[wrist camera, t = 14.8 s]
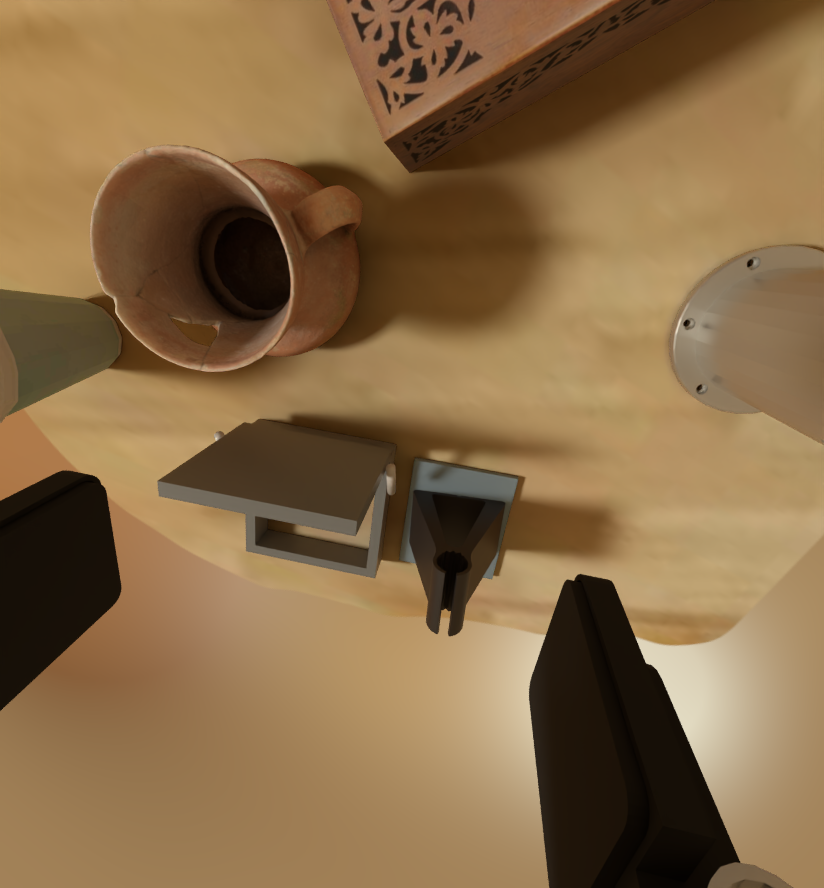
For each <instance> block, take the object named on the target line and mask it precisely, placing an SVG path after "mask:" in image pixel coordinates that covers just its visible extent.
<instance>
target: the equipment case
mask: <svg viewBox="0 0 824 888" xmlns="http://www.w3.org/2000/svg"><path fill="white" fill-rule="evenodd" d="M214 438H215V439H216V442H214V443H213V444H211V445H210V446H208V447H207V448H205V449H204V450H203V451H201V452H200V453H198V454H197V455H195V456H194V457H192V458H191V459H189V460H188V461H186V462H185V463H183V464H182V465H180V466H179V467H177V468H176V469H174V470H173V471H172V472H170V473H169V474H167V475H166V476H164V477H163V478H161V479H160V480H158V481H157V482H158V491H159V496H160V497H165V498H170V499H175V500H180V501H185V502H190V503H195V504H199V505H204V506H209V507H214V508H219V509H224V510H229V511H234V512H239V513H244V514H246V551H248V552H253V553H257V554H262V555H267V556H271V557H276V558H281V559H286V560H290V561H295V562H300V563H305V564H309V565H314V566H319V567H324V568H328V569H333V570H338V571H343V572H347V573H352V574H357V575H362V576H366V577H371V578H375V577H376V574H377V571H378V568H379V565H380V562H381V557H382V549H383V542H384V534H385V527H386V519H387V512H388V504H389V497H390V495H394V494H395V493H396V467H395V465H394V459H395V451H396V444H392V443H387V442H381V441H376V440H371V439H365V438H360V437H354V436H349V435H344V434H338V433H333V432H327V431H322V430H317V429H311V428H306V427H300V426H295V425H290V424H284V423H279V422H273V421H268V420H263V419H258V420H257V421H255V422H254V423H252V424H250V423H245V422H244V423H242V424H241V425H239V426H238V427H236V428H235V429H234V430H232V431H231V432H229V433H228V434H226V435H224V433H223V432H221V431H219V432H216V433H215V435H214ZM374 495H375V500H374V509H373V517H372V526H371V534H370V543H369V550H365V549H360V548H355V547H350V546H346V545H341V544H336V543H331V542H326V541H321V540H316V539H312V538H307V537H302V536H297V535H292V534H287V533H282V532H278V531H273V530H268V519H273V520H278V521H283V522H288V523H293V524H298V525H302V526H307V527H312V528H317V529H322V530H327V531H332V532H337V533H342V534H347V535H352V536H356V534H357V532H358V530H359V528H360V526H361V523H362V521H363V519H364V517H365V515H366V513H367V510H368V508H369V506H370V504H371V502H372V500H373V497H374Z"/></svg>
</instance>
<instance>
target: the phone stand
mask: <svg viewBox="0 0 824 888" xmlns="http://www.w3.org/2000/svg"><path fill="white" fill-rule="evenodd" d="M504 509H505V502H503V501H496V500H489V499H481V498H474V497H467V496H457V495H452V494H445V493H438V492H430V491H423V490H414V491H413V502H412V514H411V525H410V537H409V543H410V546H411V549H412V552H413V556H414V559H415V562H416V565H417V568H418V571H419V574H420V577H421V580H422V584H423V587H424V590H425V593H426V596H427V599H428V608H427V617H426V623H427V626H428V627H429V629H430V630H431V631H432V632H434V633H436V634H438V632H439V625H440V617H441V610H444V609H447V610H448V611H451V616H450V623H449V630H448V635H449V636H453V635H456V634H457V633H459V632H460V631H461V629H462V626H463V620H464V614H465V607H466V604H467V602H468V601H469V599H470V597H471V596H472V594H473V592H474V591H475V589H476V587H477V586H478V584H479V583H480V581H481V579H482V578H483V576H484V574H485V573H486V571H487V569H488V568H489V566H490V564H491V563H492V561H493V559H494V558H495V556H496V554H497V548H498V542H499V537H500V531H501V526H502V520H503V515H504Z"/></svg>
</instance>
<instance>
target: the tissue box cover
mask: <svg viewBox="0 0 824 888" xmlns="http://www.w3.org/2000/svg"><path fill="white" fill-rule="evenodd" d="M326 1H327V3H328V6H329V8H330V11H331V13H332V15H333V18H334V20H335V23H336V25H337V28H338V30H339V33H340V35H341V38H342V40H343V43H344V45H345V47H346V50H347V52H348V55H349V57H350V60H351V62H352V65H353V67H354V70H355V72H356V74H357V77H358V79H359V82H360V84H361V87H362V89H363V92H364V94H365V97H366V99H367V101H368V104H369V106H370V109H371V111H372V114H373V116H374V119H375V121H376V124H377V126H378V128H379V131H380V133H381V136H382V138H383V141H384V143H385V144H386V145H387V146H388V147H389V149H390V150H391V151H392V152H393V153H394V155H395V156H396V157H397V158H398V159H399V161H400V162H401V163H402V164H403V165H404V167H405V168H406V169H407V170H408V171H409V173H410V172H412V171H414V170H416V169H417V168H419V167H421V166H423V165H424V164H426V163H428V162H430V161H431V160H433V159H435V158H437V157H439V156H440V155H442V154H444V153H446V152H447V151H449V150H451V149H453V148H454V147H456V146H458V145H460V144H462V143H463V142H465V141H467V140H469V139H470V138H472V137H474V136H476V135H477V134H479V133H481V132H483V131H484V130H486V129H488V128H490V127H492V126H493V125H495V124H497V123H499V122H500V121H502V120H504V119H506V118H507V117H509V116H511V115H513V114H515V113H516V112H518V111H520V110H522V109H523V108H525V107H527V106H529V105H530V104H532V103H534V102H536V101H538V100H539V99H541V98H543V97H545V96H546V95H548V94H550V93H552V92H553V91H555V90H557V89H559V88H560V87H562V86H564V85H566V84H568V83H569V82H571V81H573V80H575V79H576V78H578V77H580V76H582V75H583V74H585V73H587V72H589V71H591V70H592V69H594V68H596V67H598V66H599V65H601V64H603V63H605V62H606V61H608V60H610V59H612V58H613V57H615V56H617V55H619V54H621V53H622V52H624V51H626V50H628V49H629V48H631V47H633V46H635V45H636V44H638V43H640V42H642V41H644V40H645V39H647V38H649V37H651V36H652V35H654V34H656V33H658V32H659V31H661V30H663V29H665V28H667V27H668V26H670V25H672V24H674V23H675V22H677V21H679V20H681V19H682V18H684V17H686V16H688V15H689V14H691V13H693V12H695V11H697V10H698V9H700V8H702V7H704V6H705V5H707V4H709V3H711V2H712V1H714V0H326Z"/></svg>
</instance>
